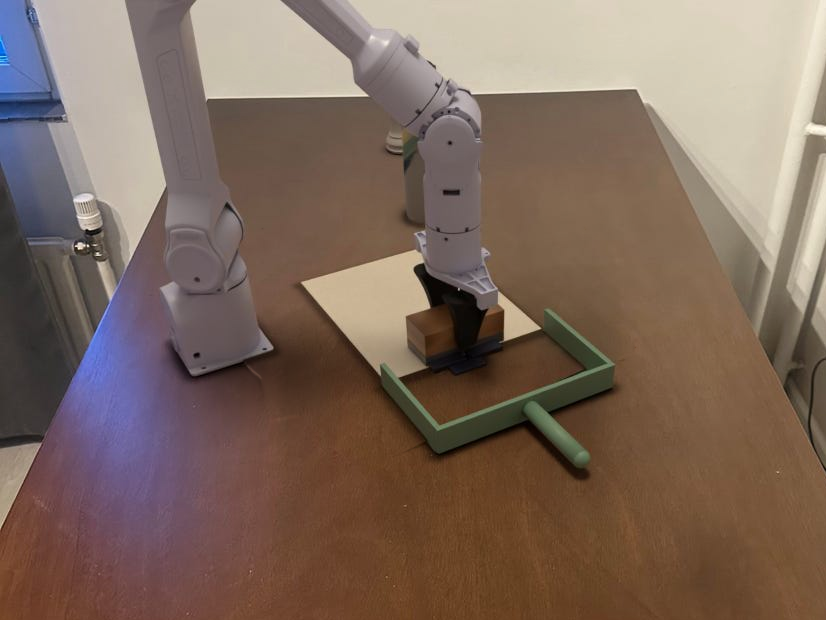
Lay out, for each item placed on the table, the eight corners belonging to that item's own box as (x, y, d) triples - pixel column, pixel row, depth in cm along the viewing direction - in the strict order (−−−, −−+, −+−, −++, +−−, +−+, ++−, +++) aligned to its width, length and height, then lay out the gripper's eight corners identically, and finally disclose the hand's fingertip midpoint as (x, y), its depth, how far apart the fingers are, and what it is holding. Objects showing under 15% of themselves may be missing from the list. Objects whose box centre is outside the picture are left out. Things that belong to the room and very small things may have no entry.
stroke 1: (434, 373, 96) (434, 369, 96) (428, 366, 97) (428, 361, 97) (466, 362, 98) (466, 358, 97) (460, 355, 99) (460, 351, 98)
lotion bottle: (450, 208, 125) (446, 56, 111) (445, 227, 121) (440, 72, 107) (410, 206, 125) (401, 54, 111) (403, 225, 121) (393, 71, 107)
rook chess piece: (382, 146, 140) (378, 93, 134) (408, 141, 141) (405, 88, 136) (392, 157, 137) (388, 103, 131) (419, 151, 138) (416, 98, 133)
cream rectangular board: (385, 385, 96) (385, 381, 95) (301, 285, 110) (300, 282, 110) (541, 332, 103) (541, 328, 102) (442, 245, 117) (442, 241, 117)
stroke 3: (455, 378, 96) (455, 373, 96) (448, 370, 97) (448, 366, 97) (486, 367, 98) (486, 362, 97) (479, 360, 99) (480, 355, 98)
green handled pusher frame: (382, 388, 95) (379, 364, 93) (547, 331, 103) (548, 307, 101) (490, 517, 81) (490, 492, 79) (671, 440, 89) (676, 415, 87)
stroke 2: (471, 360, 98) (471, 356, 98) (465, 353, 99) (465, 349, 98) (502, 350, 99) (503, 345, 99) (495, 343, 100) (496, 338, 100)
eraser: (426, 366, 97) (424, 335, 94) (407, 346, 100) (405, 315, 97) (504, 340, 101) (504, 309, 98) (483, 321, 104) (483, 290, 101)
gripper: (525, 240, 87) (521, 355, 96) (452, 183, 96) (455, 294, 105) (462, 259, 84) (464, 375, 94) (393, 199, 93) (402, 311, 103)
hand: (455, 334), depth 99 cm, fingers closed on eraser, 4 cm apart
